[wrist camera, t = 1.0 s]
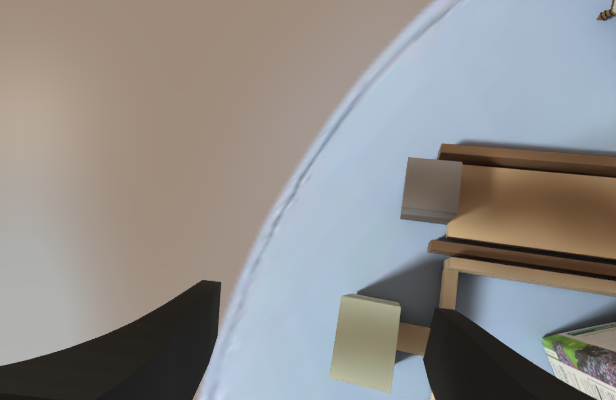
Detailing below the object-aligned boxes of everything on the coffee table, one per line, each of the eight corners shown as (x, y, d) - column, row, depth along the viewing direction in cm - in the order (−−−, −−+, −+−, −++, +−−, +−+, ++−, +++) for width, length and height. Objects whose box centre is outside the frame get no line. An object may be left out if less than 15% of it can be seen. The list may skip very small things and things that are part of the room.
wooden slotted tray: (719, 509, 18) (864, 607, 13) (336, 408, 23) (319, 447, 17) (710, 300, 20) (832, 306, 14) (358, 247, 25) (350, 236, 19)
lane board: (760, 540, 18) (805, 571, 16) (407, 443, 22) (409, 458, 20) (738, 179, 21) (772, 168, 19) (437, 154, 25) (441, 143, 23)
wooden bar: (709, 274, 20) (783, 271, 16) (398, 231, 24) (400, 221, 21) (705, 191, 21) (774, 171, 17) (406, 164, 25) (410, 143, 22)
